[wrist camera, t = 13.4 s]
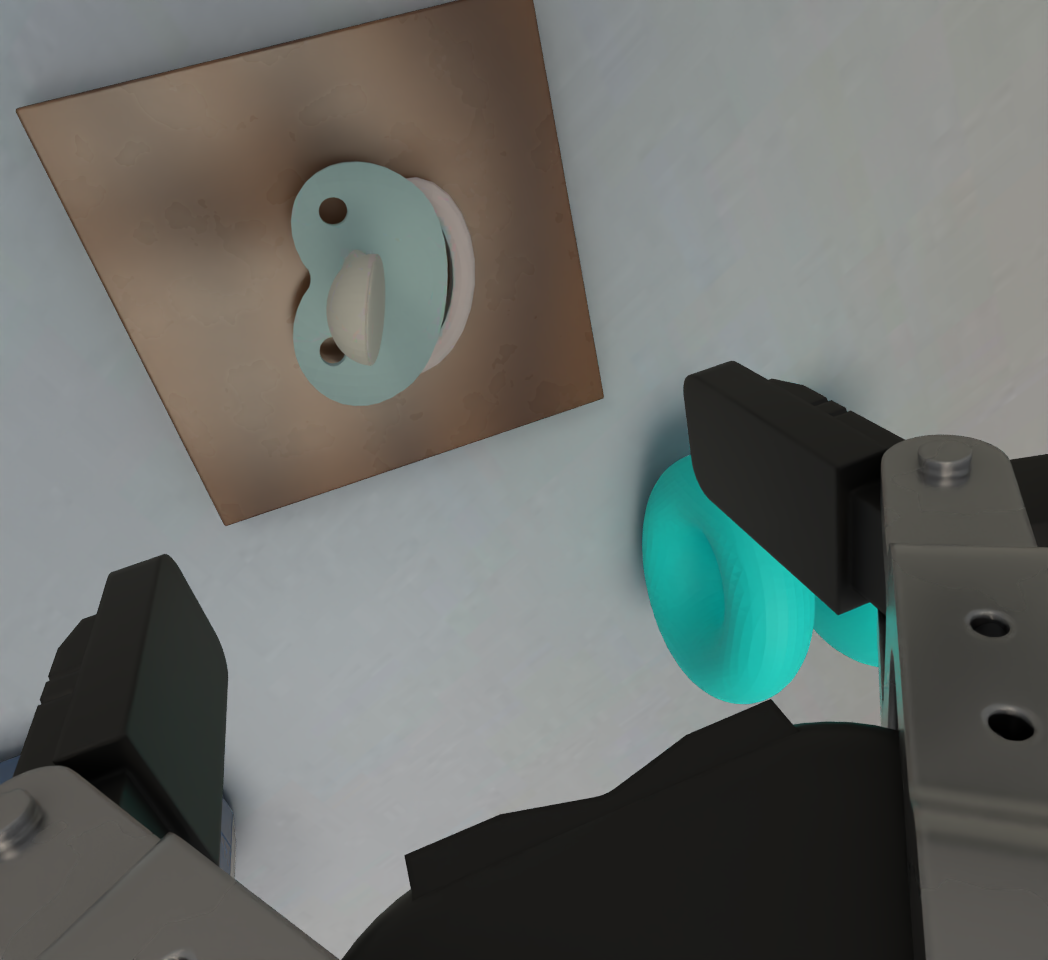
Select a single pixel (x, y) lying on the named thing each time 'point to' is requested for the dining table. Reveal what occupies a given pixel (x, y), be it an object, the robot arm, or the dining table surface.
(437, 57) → the board
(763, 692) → the donuts
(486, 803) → the dining table surface
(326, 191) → the pacifier
